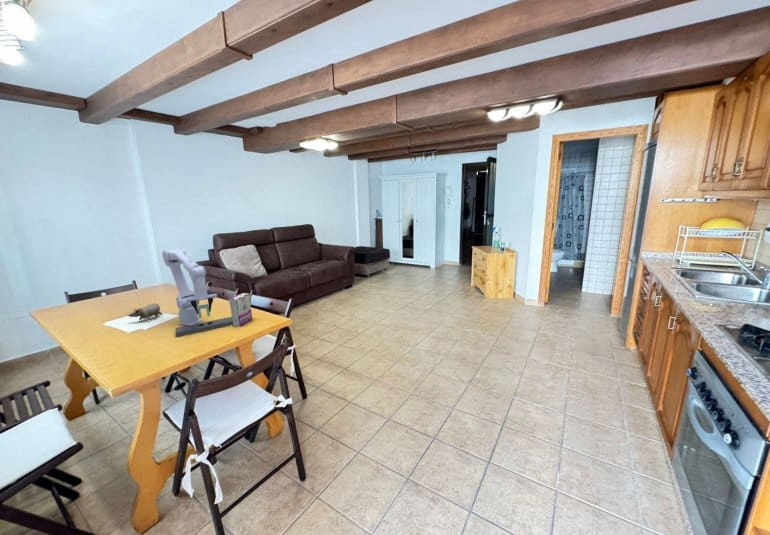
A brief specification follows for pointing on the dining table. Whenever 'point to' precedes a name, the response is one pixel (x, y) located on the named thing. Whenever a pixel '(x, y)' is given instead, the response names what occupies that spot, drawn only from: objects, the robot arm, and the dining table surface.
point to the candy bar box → (240, 309)
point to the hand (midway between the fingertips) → (203, 312)
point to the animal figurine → (147, 311)
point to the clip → (203, 308)
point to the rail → (203, 326)
